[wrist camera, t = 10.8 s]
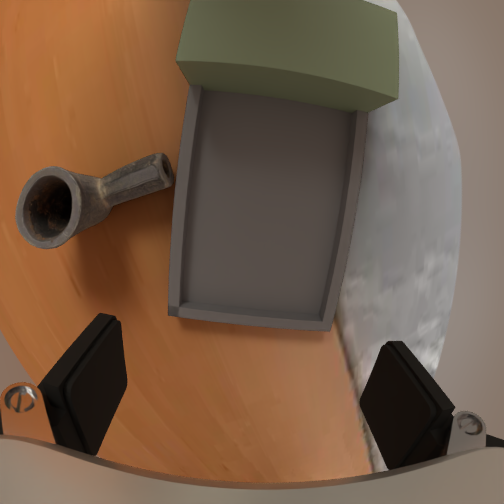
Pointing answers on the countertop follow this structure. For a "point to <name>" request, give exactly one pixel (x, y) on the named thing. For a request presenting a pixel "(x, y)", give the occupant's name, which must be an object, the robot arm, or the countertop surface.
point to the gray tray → (274, 155)
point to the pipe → (82, 198)
